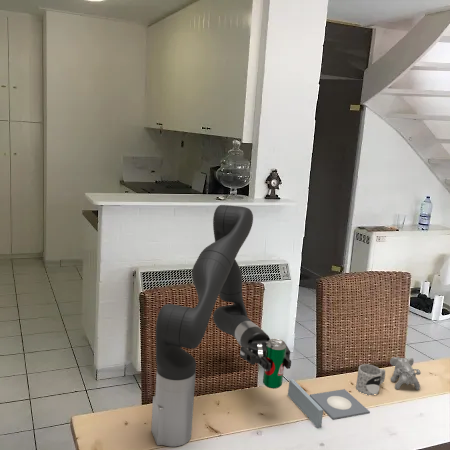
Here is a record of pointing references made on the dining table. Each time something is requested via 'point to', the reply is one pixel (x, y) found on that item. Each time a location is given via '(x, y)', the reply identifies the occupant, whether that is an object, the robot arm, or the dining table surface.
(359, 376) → the mug
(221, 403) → the dining table surface
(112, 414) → the dining table surface
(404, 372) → the elephant statuette
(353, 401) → the slate pad
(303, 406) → the acrylic wall
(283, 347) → the soda can
